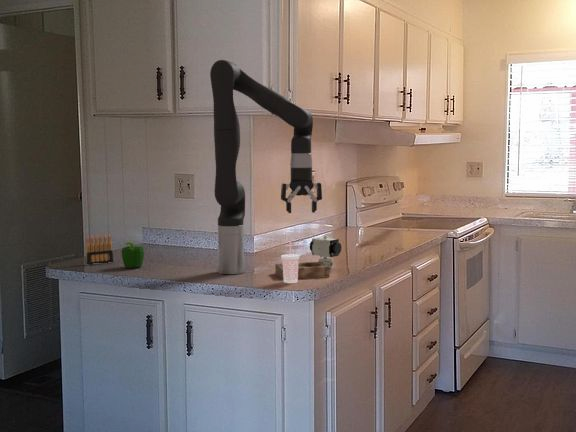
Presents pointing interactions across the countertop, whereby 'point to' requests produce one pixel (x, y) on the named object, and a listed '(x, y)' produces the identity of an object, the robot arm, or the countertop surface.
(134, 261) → the bell pepper
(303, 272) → the socket block
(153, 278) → the countertop surface
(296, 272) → the beverage cup
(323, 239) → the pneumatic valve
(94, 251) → the ammunition clip
